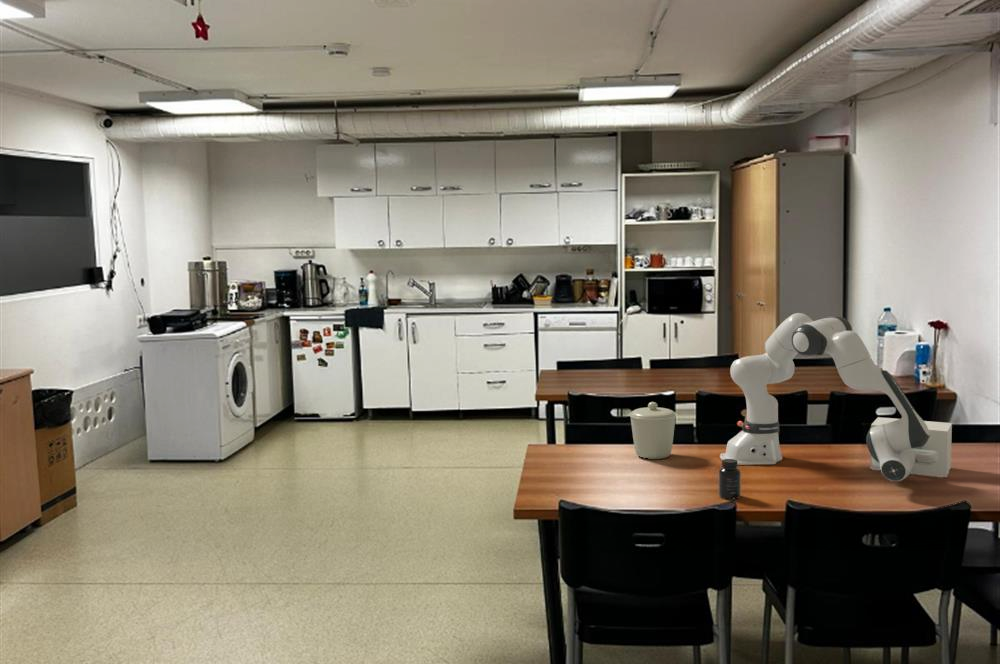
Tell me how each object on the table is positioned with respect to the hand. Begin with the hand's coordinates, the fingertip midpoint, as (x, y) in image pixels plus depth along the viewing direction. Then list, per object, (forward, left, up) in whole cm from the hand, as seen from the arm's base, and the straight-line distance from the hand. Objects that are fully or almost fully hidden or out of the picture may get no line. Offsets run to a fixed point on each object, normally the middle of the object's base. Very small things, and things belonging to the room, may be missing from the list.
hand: (907, 449), depth 300 cm
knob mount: (+6, +7, -9) cm, 13 cm away
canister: (-75, +46, -9) cm, 88 cm away
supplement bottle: (-67, -9, -9) cm, 68 cm away
